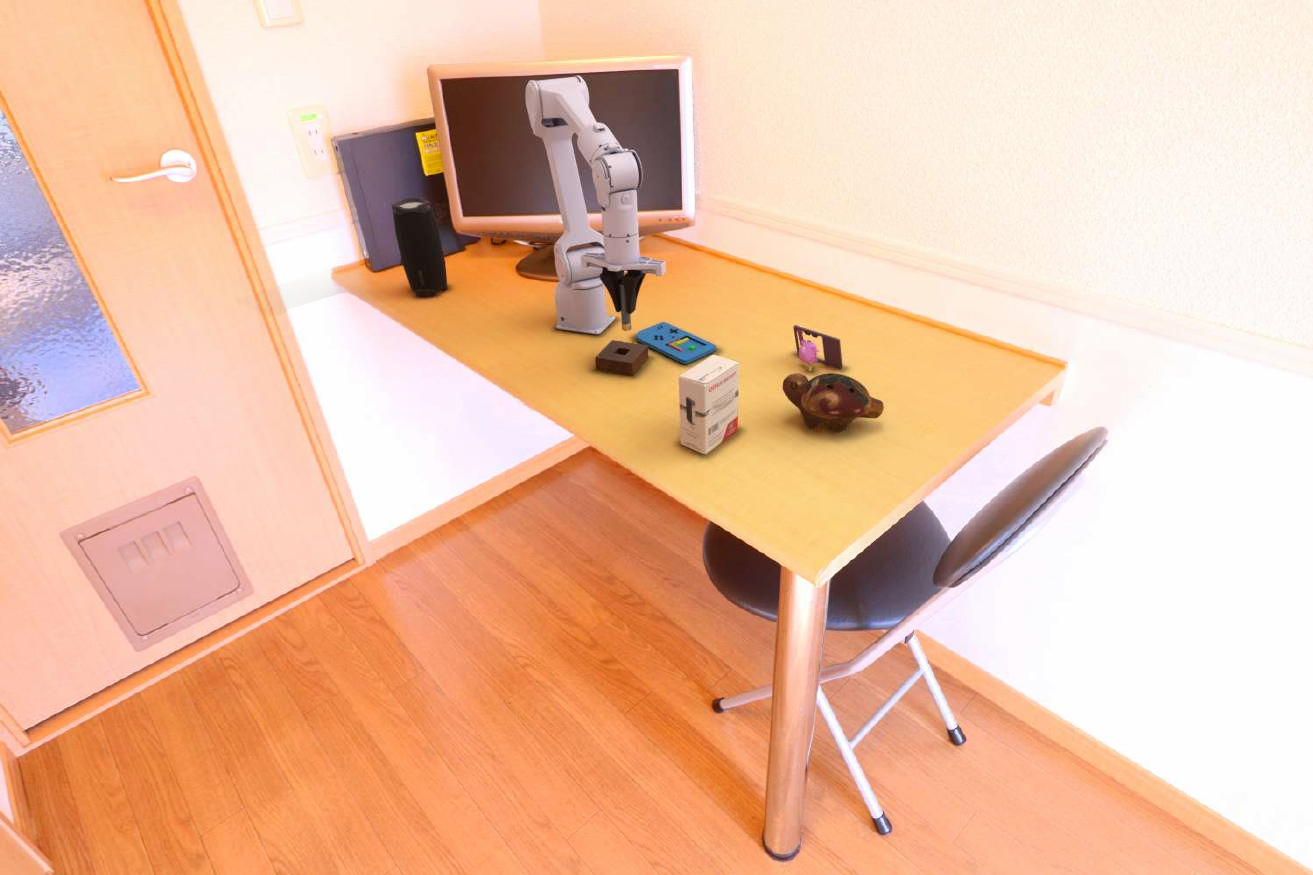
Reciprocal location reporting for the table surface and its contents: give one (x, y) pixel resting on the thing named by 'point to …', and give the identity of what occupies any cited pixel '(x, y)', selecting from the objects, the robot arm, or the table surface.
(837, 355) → the purple frame with figurine
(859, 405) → the decorative turtle
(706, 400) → the ink box
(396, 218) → the portable speaker
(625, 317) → the dark grey cylinder rod
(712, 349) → the handheld gaming device
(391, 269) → the table surface
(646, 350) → the brown block with hole
